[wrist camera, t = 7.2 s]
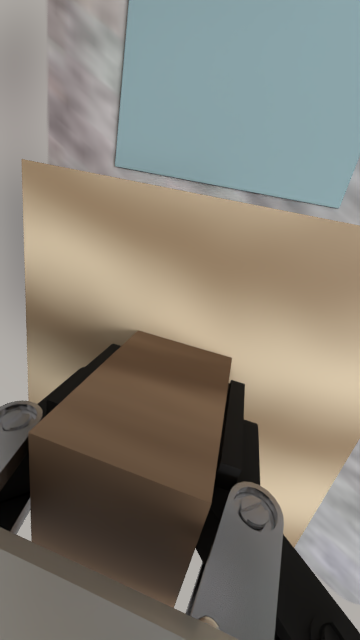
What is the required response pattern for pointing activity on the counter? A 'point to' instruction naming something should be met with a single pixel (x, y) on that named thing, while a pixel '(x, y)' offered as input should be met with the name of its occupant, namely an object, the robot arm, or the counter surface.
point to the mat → (244, 94)
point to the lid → (179, 363)
